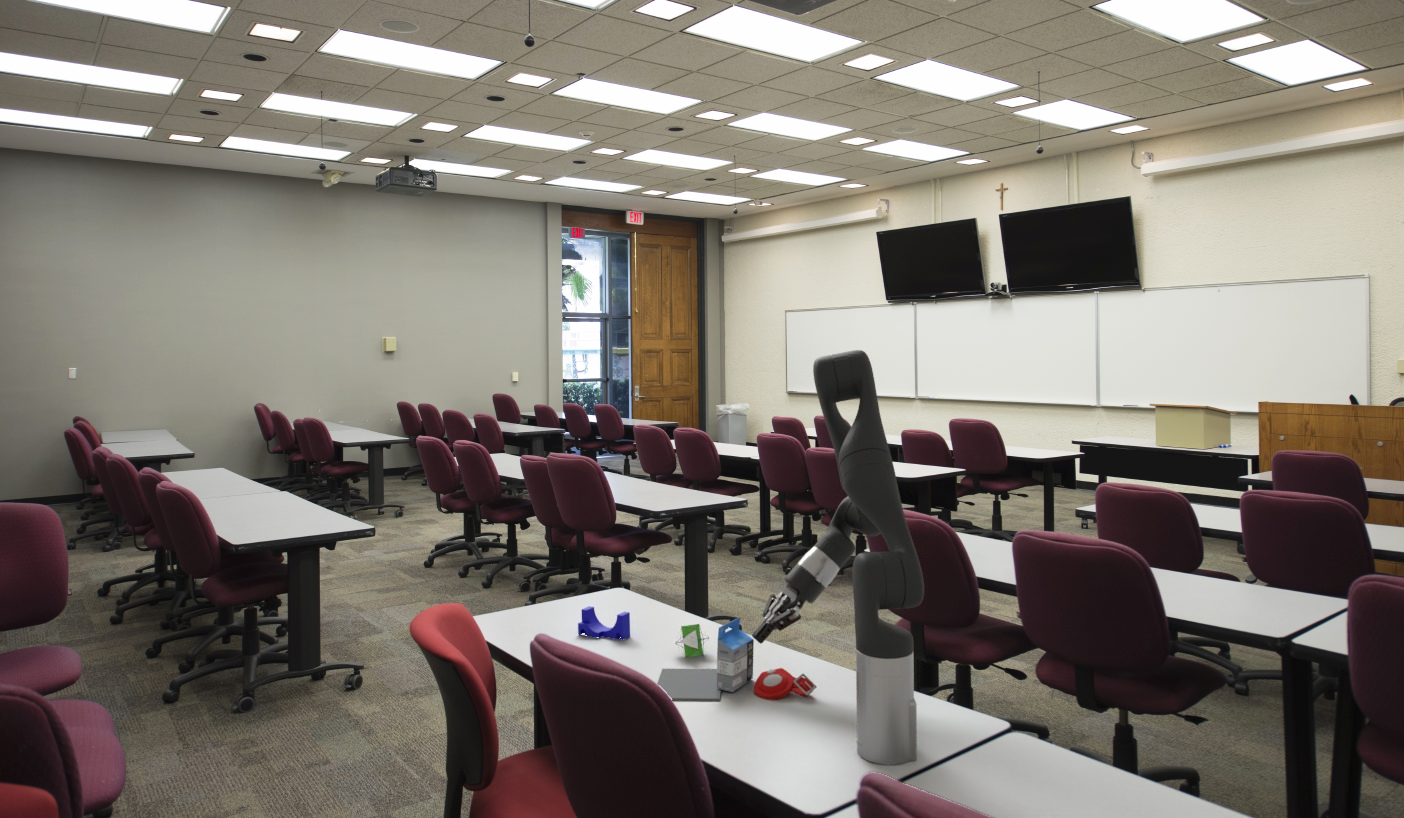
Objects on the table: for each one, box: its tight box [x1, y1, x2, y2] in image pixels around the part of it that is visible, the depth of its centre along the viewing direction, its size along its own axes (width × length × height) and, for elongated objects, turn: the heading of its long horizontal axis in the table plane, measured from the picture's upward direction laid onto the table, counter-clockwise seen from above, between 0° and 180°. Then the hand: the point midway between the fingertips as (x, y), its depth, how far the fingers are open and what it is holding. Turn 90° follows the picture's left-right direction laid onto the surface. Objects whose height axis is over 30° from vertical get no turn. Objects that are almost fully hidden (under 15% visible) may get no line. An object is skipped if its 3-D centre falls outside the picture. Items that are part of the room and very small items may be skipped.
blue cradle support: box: [577, 606, 631, 641], centre depth 205 cm, size 12×4×6 cm, turn 60°
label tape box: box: [716, 617, 755, 693], centre depth 171 cm, size 9×4×12 cm, turn 149°
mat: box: [656, 668, 722, 702], centre depth 172 cm, size 13×16×1 cm
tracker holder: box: [753, 667, 817, 701], centre depth 168 cm, size 12×4×10 cm
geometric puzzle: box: [674, 623, 709, 658], centre depth 190 cm, size 7×7×8 cm
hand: (756, 639), depth 172 cm, fingers closed
